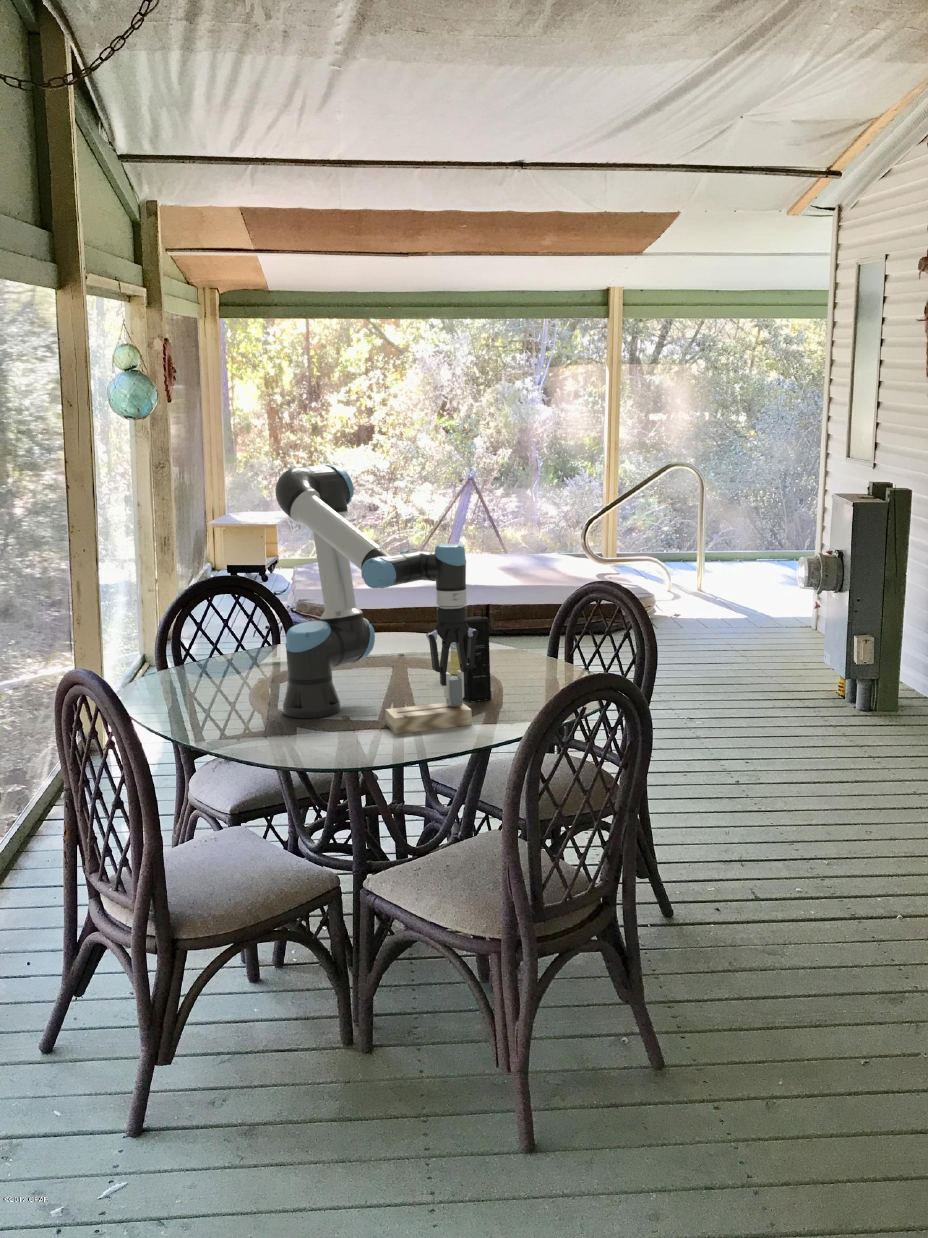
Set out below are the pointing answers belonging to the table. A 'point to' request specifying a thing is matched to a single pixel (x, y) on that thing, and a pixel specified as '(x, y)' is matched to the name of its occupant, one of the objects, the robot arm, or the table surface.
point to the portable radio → (478, 661)
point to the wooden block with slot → (427, 717)
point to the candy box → (454, 659)
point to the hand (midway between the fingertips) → (454, 696)
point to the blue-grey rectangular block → (455, 692)
